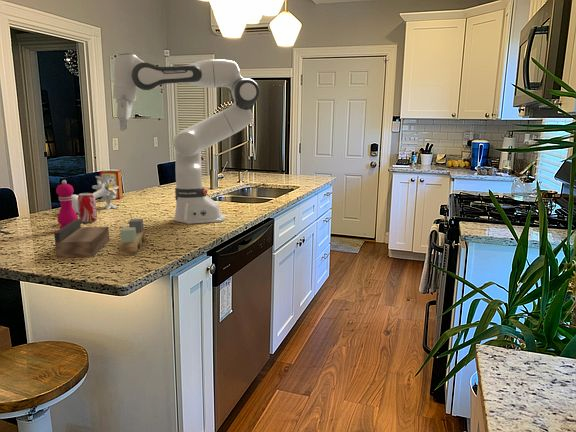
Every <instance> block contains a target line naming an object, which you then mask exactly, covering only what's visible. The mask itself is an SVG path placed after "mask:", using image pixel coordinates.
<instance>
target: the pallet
mask: <svg viewBox="0 0 576 432" xmlns="http://www.w3.org/2000/svg"><path fill="white" fill-rule="evenodd" d="M143 229H144V230H143V231H142V232H136V240H135V241H134V242H121V240H120V242H119V243H118V244H119V255H120V256H124V255H127V256H128V255H137V254H138V252H139V249H141V248H142V246H143V243H145V242H146V241H147V238H146V236H147V235H146V229H145V228H143Z"/></svg>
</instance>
